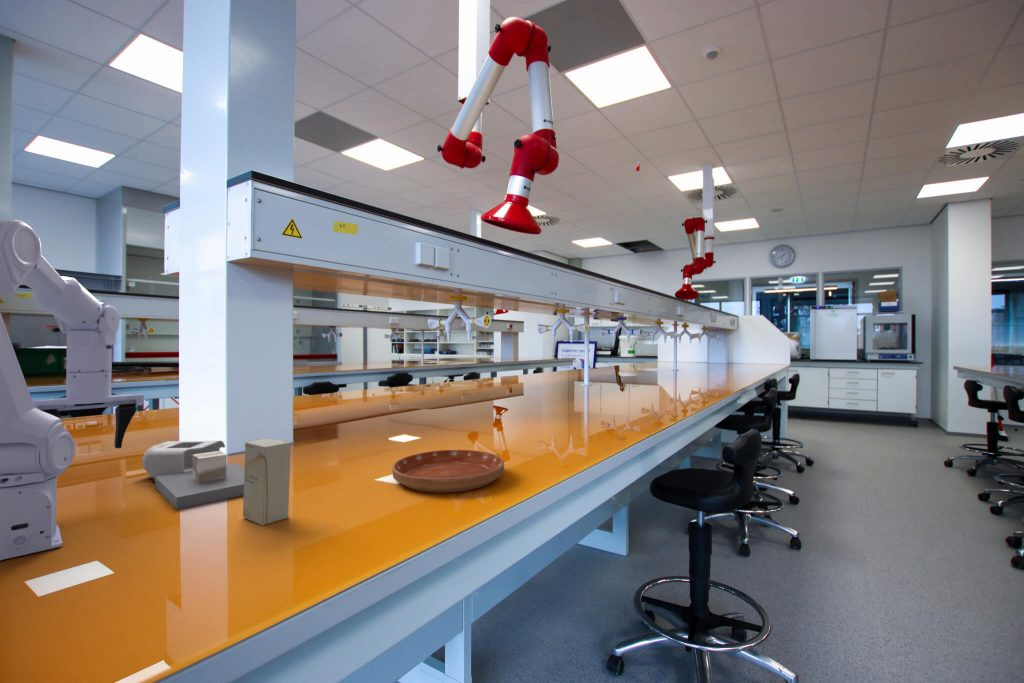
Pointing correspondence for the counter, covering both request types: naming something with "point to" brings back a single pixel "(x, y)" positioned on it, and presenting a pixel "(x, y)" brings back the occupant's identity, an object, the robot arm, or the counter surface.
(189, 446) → the cable organizer
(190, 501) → the base plate
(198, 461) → the ash cube
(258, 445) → the skincare box
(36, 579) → the counter surface
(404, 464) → the saucer
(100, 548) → the counter surface
